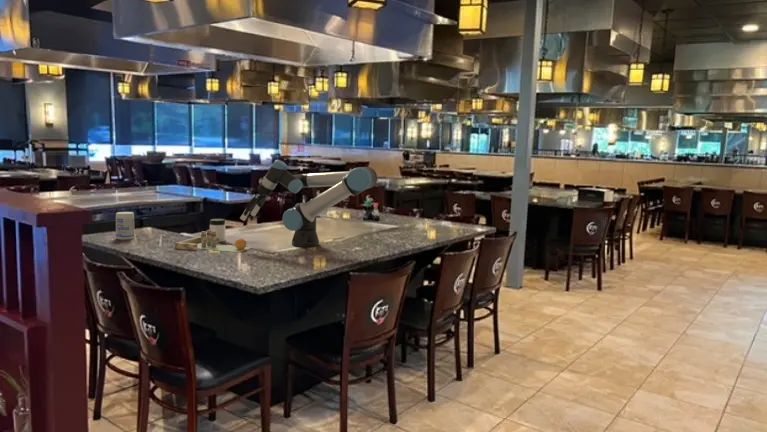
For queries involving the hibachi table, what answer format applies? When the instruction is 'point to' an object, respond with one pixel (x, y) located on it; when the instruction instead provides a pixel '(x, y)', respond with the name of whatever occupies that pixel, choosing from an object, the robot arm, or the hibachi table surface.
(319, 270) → the hibachi table surface
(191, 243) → the backstop
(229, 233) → the hibachi table surface
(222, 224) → the jar
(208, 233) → the pin rear right
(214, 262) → the hibachi table surface
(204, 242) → the pin rear left
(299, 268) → the hibachi table surface
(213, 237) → the pin front
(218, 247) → the pale green board
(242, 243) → the ball
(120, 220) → the supplement tub
